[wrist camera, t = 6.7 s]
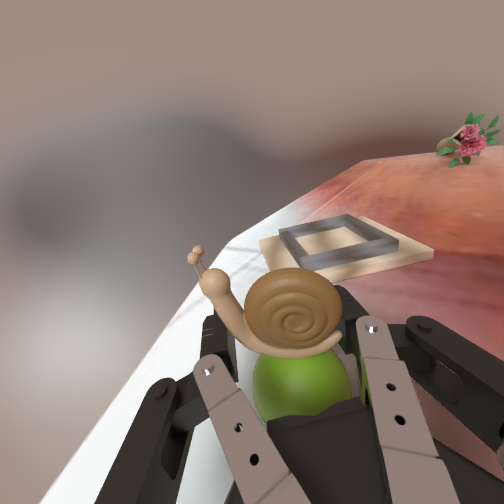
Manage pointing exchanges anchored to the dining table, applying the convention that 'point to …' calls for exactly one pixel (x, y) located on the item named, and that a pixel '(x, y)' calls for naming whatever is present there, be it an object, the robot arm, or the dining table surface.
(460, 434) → the dining table surface
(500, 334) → the dining table surface
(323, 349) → the snail figurine
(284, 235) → the board
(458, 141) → the flower vase
